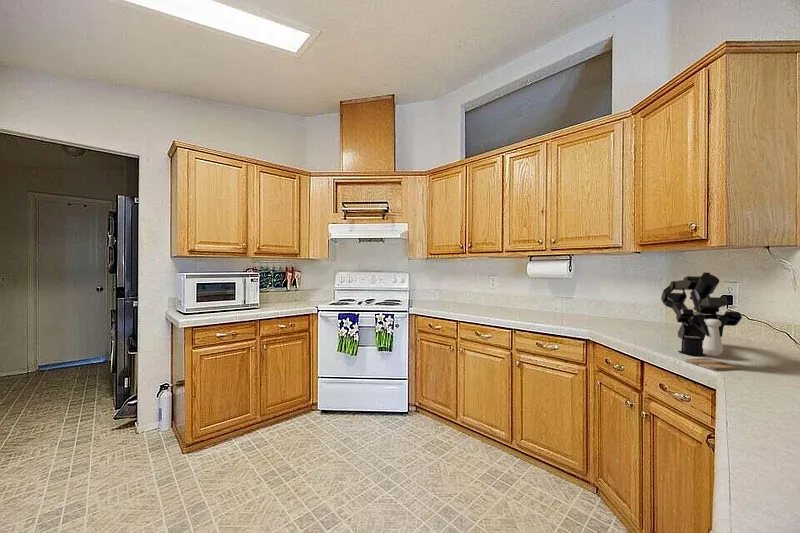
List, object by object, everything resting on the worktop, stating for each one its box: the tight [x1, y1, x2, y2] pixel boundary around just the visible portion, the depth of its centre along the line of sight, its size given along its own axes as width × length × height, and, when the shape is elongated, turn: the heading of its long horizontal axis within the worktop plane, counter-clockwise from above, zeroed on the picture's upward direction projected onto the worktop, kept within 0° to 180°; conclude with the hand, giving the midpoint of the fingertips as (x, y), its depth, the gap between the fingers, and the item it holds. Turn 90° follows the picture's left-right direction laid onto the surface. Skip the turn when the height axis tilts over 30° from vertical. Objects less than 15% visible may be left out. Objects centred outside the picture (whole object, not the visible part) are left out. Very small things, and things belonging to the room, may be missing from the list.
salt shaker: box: [702, 319, 724, 357], centre depth 137 cm, size 6×6×13 cm
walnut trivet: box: [684, 357, 741, 371], centre depth 137 cm, size 11×11×1 cm
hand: (714, 336), depth 135 cm, fingers closed on salt shaker, 3 cm apart
